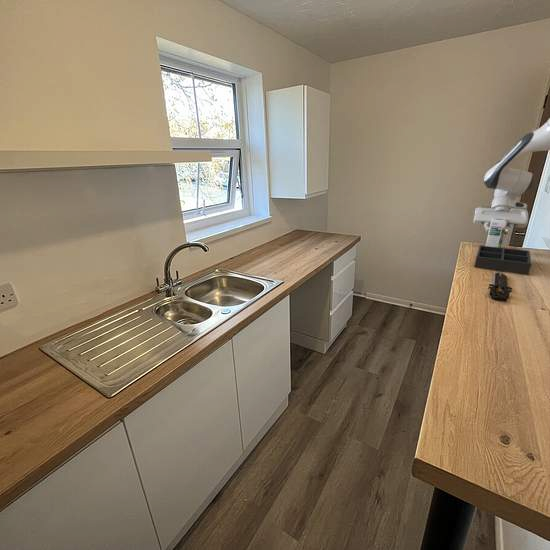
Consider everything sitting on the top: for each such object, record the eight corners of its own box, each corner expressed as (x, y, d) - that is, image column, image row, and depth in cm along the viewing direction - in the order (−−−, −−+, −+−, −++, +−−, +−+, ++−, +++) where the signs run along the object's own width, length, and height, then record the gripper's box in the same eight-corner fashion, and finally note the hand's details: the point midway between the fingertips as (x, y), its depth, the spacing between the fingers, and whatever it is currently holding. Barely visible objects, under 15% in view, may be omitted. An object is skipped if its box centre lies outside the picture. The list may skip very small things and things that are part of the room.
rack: (526, 261, 126) (529, 250, 124) (528, 275, 113) (531, 263, 111) (477, 255, 135) (479, 245, 134) (474, 267, 123) (476, 256, 121)
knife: (494, 273, 116) (495, 270, 116) (515, 277, 112) (516, 273, 112) (484, 297, 99) (485, 294, 98) (508, 303, 95) (509, 299, 94)
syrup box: (484, 250, 140) (491, 219, 134) (486, 247, 144) (493, 217, 138) (499, 252, 136) (507, 221, 130) (500, 249, 140) (508, 218, 135)
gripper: (476, 202, 143) (470, 226, 139) (531, 204, 132) (526, 231, 128) (475, 209, 148) (469, 233, 144) (528, 212, 137) (523, 239, 133)
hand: (496, 232), depth 136 cm, fingers closed on syrup box, 6 cm apart
